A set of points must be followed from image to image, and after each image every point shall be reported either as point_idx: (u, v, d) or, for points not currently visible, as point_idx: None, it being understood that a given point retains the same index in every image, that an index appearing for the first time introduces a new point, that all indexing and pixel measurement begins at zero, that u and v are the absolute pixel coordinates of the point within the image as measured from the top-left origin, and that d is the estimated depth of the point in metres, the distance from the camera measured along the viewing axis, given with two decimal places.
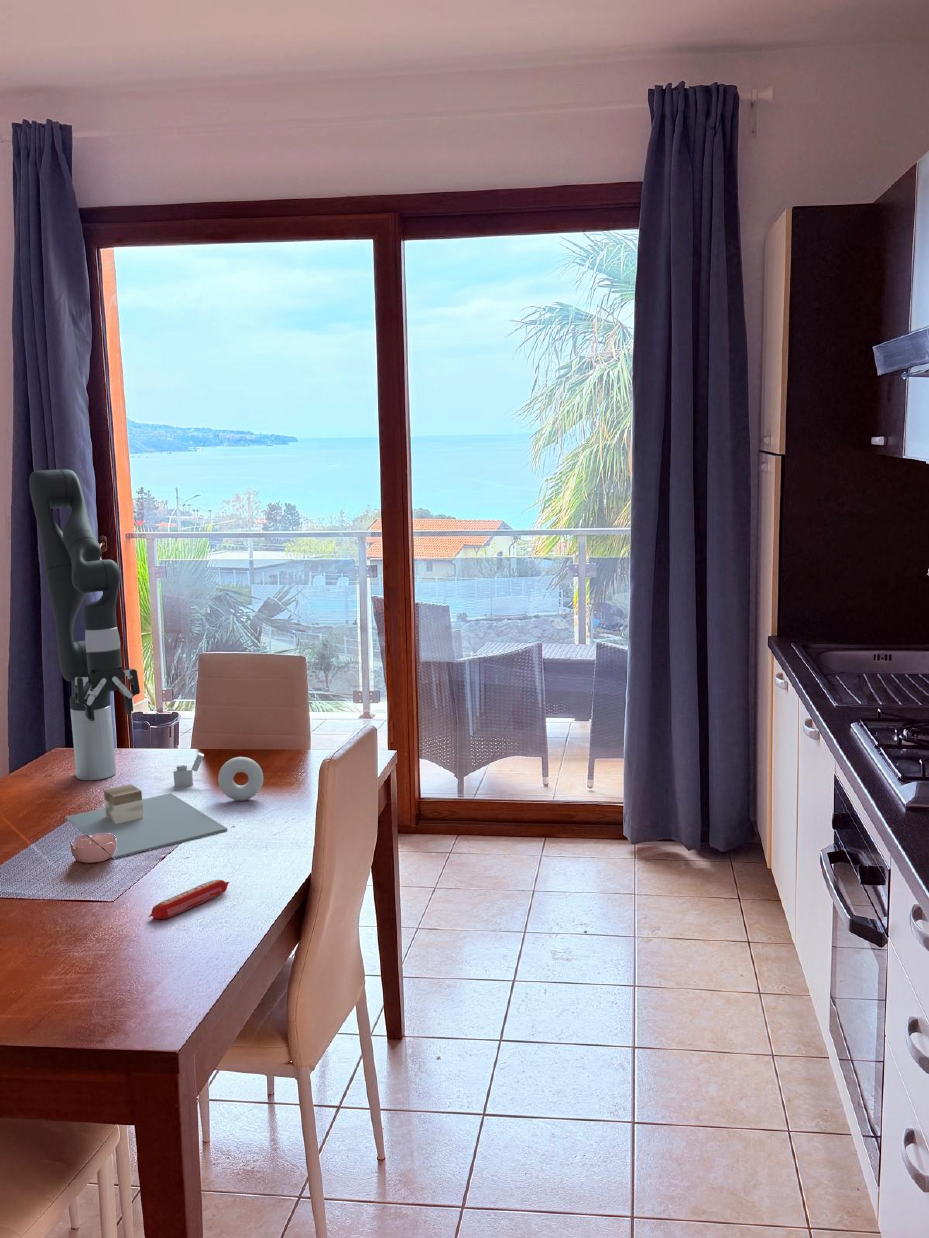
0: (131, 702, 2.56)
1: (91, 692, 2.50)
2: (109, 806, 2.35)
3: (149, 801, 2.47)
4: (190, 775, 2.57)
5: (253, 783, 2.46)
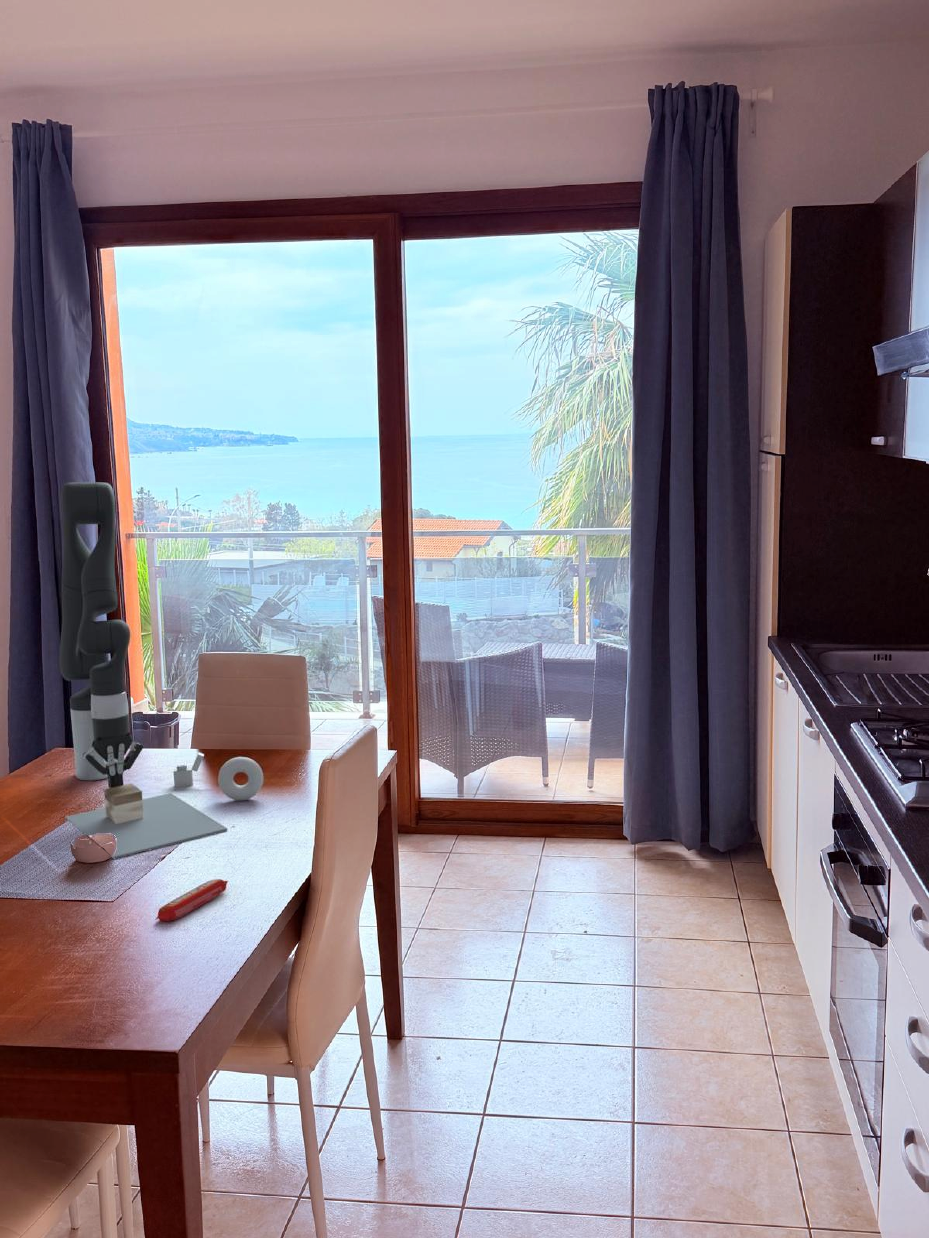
0: (121, 778, 2.39)
1: (107, 763, 2.36)
2: (109, 806, 2.35)
3: (149, 801, 2.47)
4: (190, 775, 2.57)
5: (253, 783, 2.46)
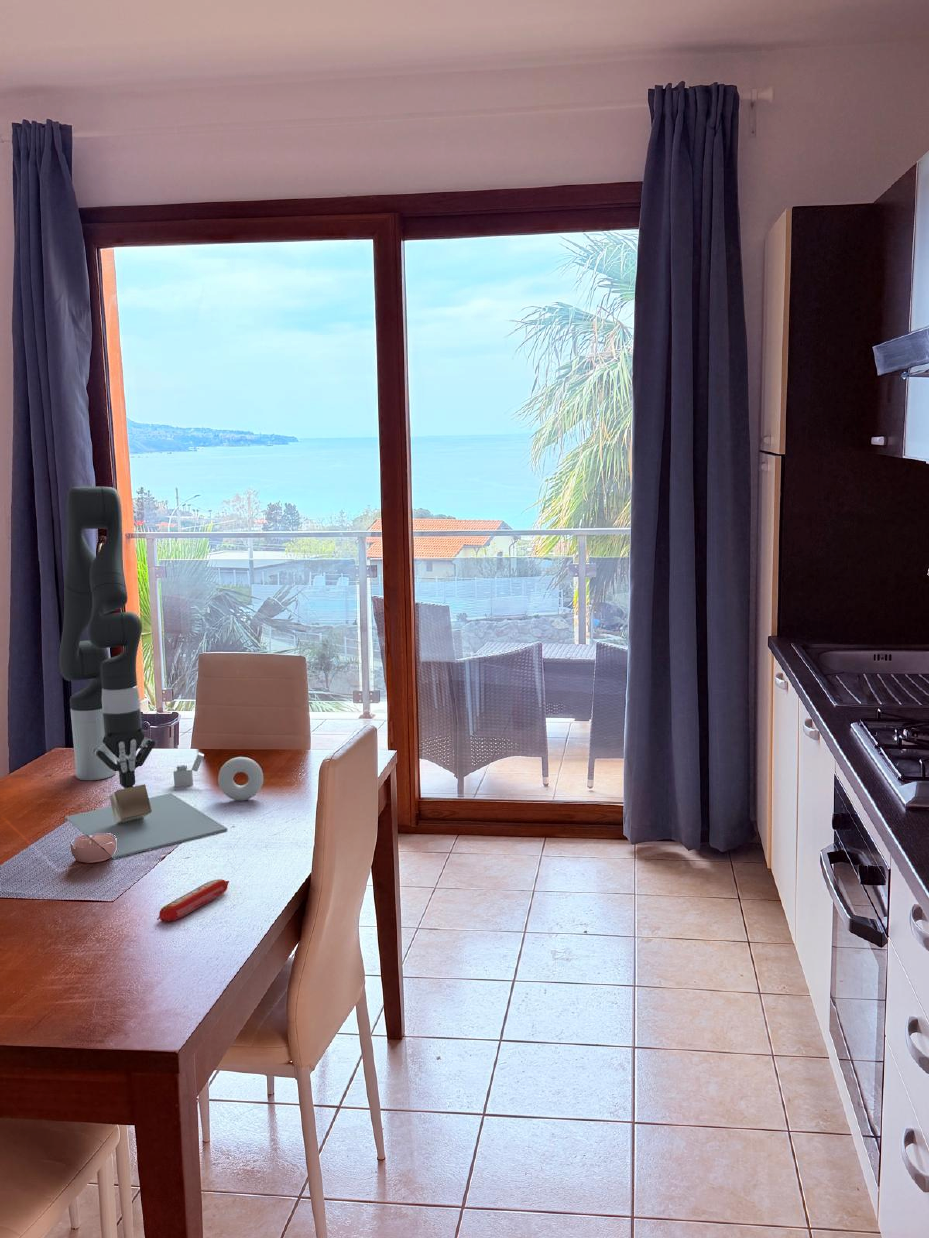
0: (133, 775, 2.32)
1: (119, 759, 2.30)
2: (116, 806, 2.31)
3: (149, 801, 2.47)
4: (190, 775, 2.57)
5: (253, 783, 2.46)
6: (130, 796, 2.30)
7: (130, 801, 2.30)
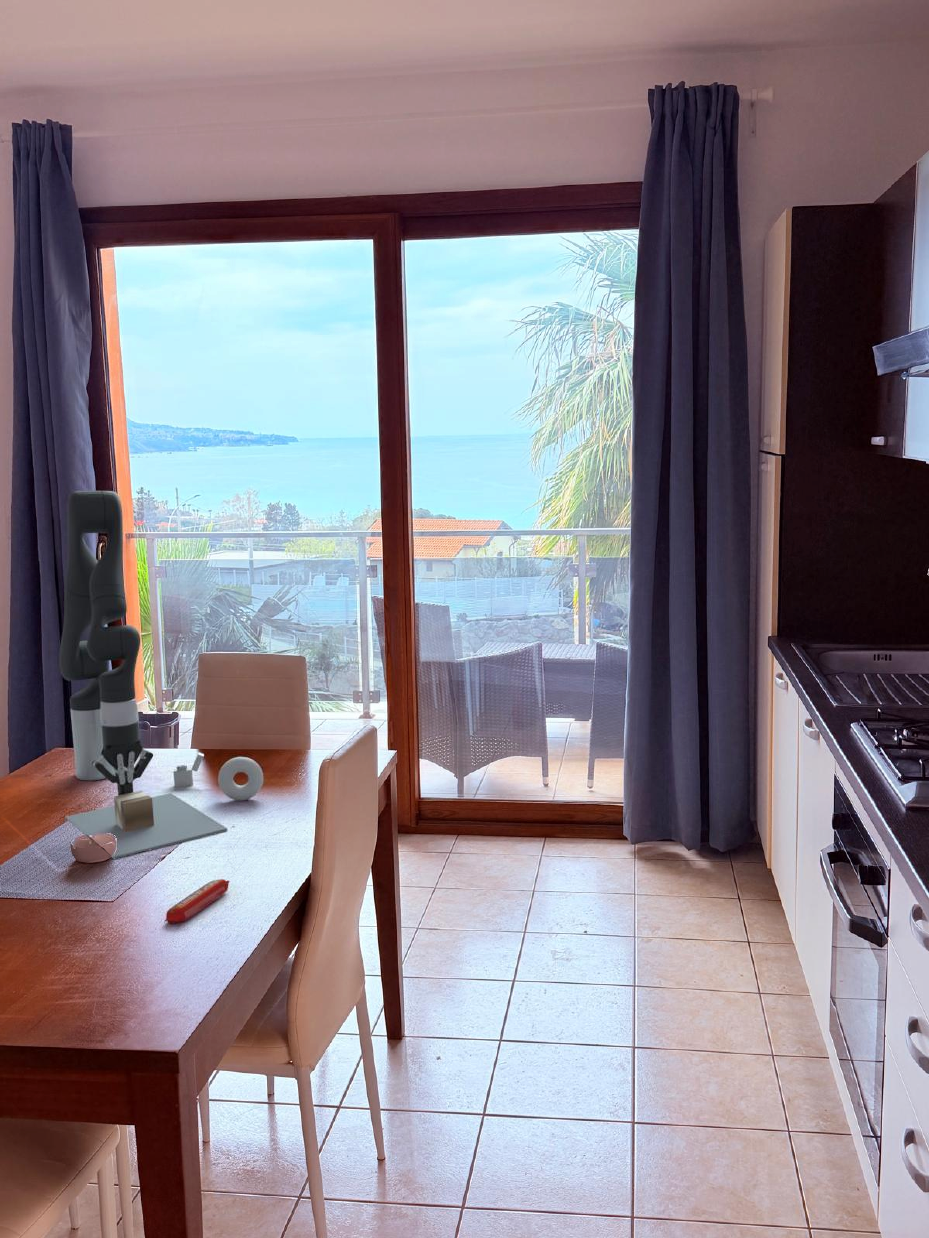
0: (131, 786, 2.34)
1: (117, 771, 2.32)
2: (119, 813, 2.30)
3: None
4: (190, 775, 2.57)
5: (253, 783, 2.46)
6: (135, 810, 2.29)
7: (135, 815, 2.29)
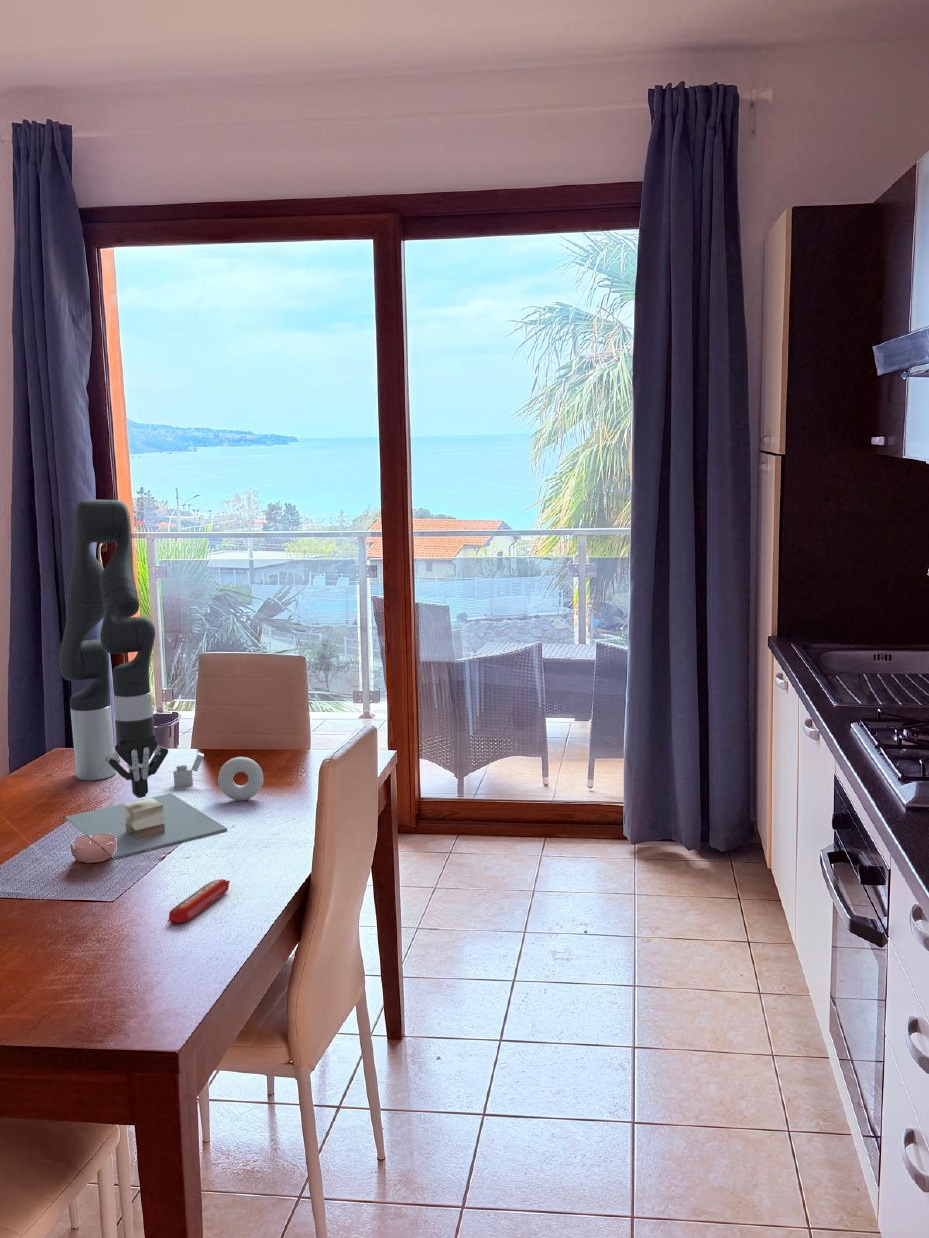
0: (146, 783, 2.27)
1: (131, 768, 2.25)
2: (130, 821, 2.25)
3: None
4: (190, 775, 2.57)
5: (253, 783, 2.46)
6: None
7: None
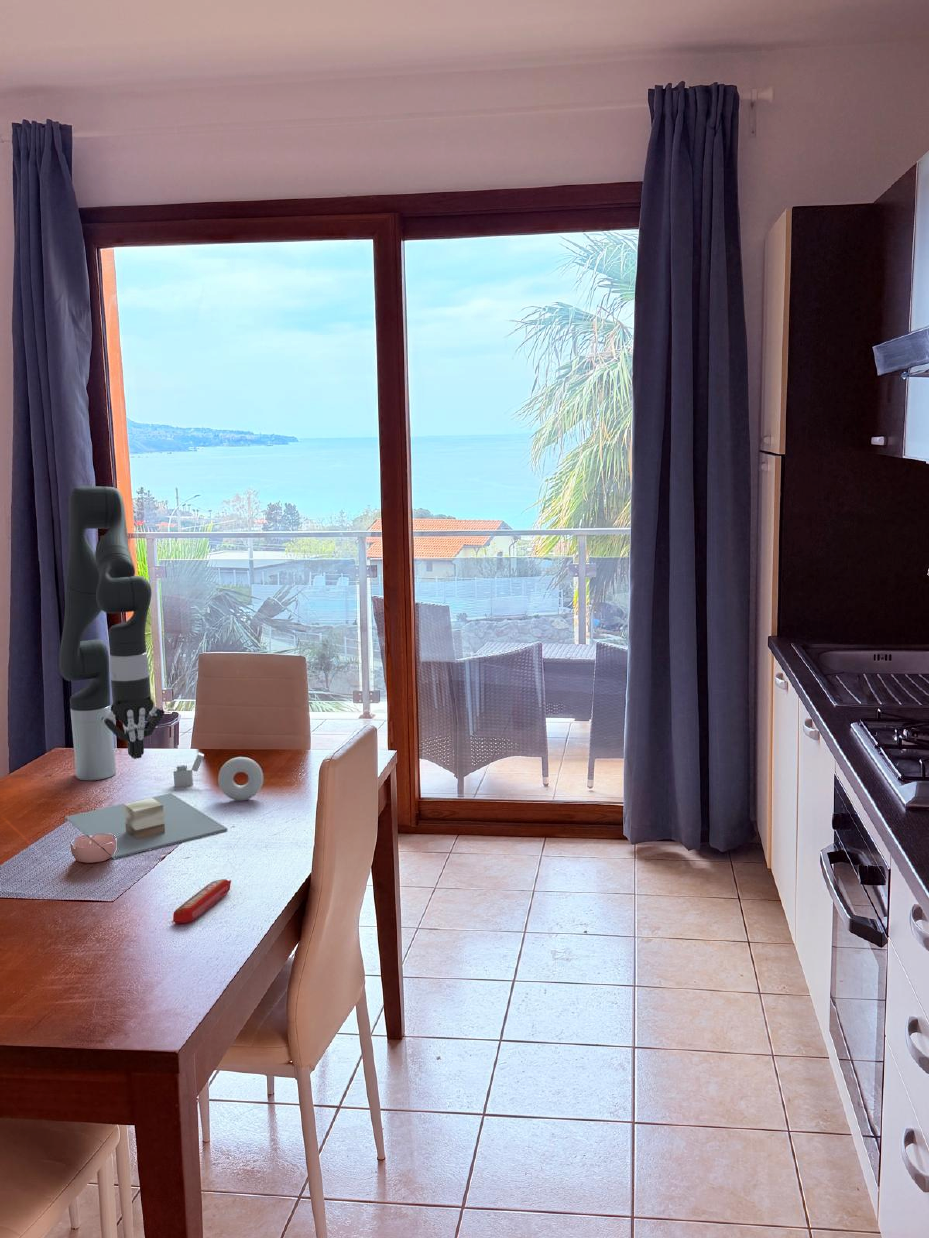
0: (142, 744, 2.26)
1: (127, 728, 2.24)
2: (130, 821, 2.25)
3: None
4: (190, 775, 2.57)
5: (253, 783, 2.46)
6: None
7: None
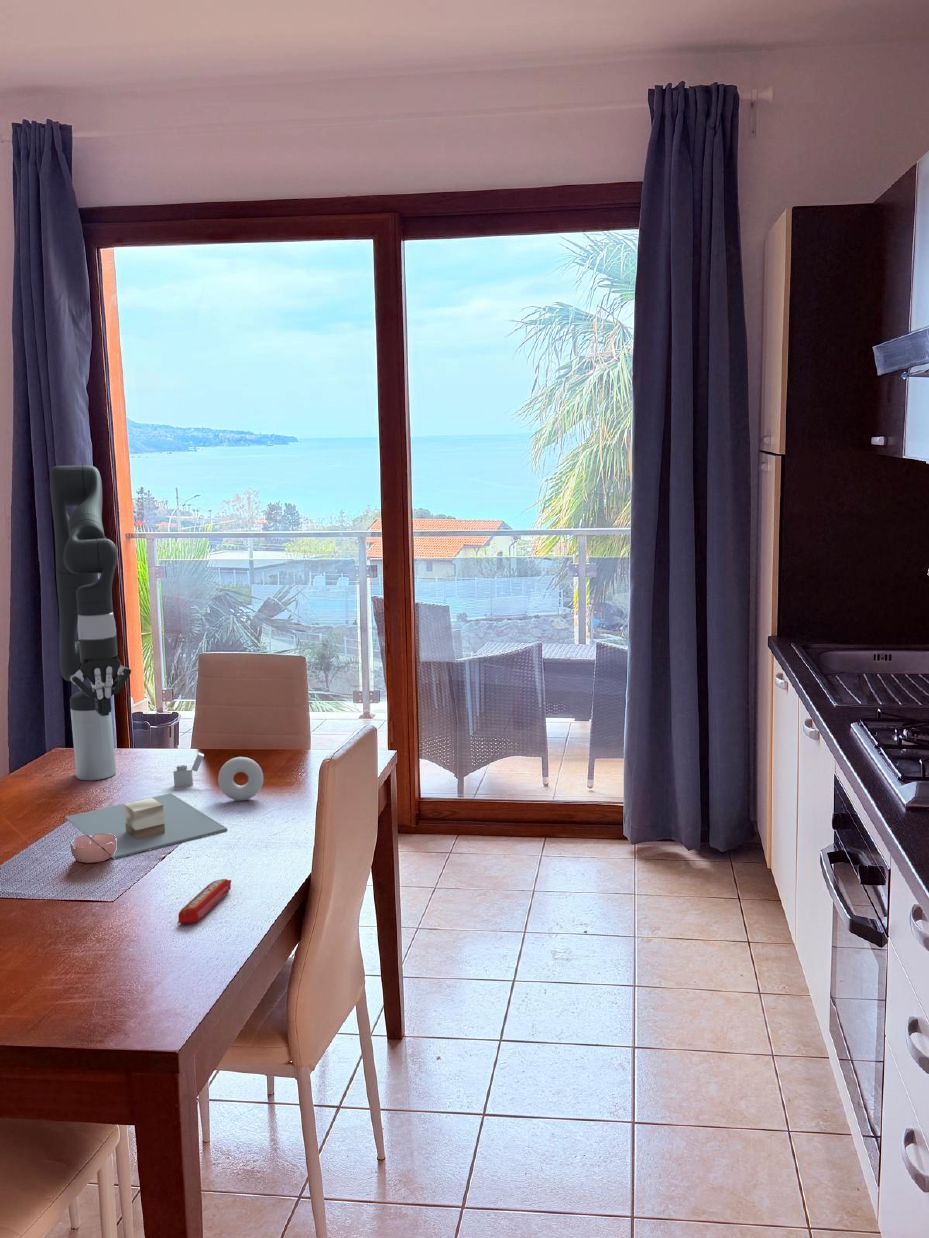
0: (109, 702, 2.33)
1: (94, 686, 2.31)
2: (130, 821, 2.25)
3: None
4: (190, 775, 2.57)
5: (253, 783, 2.46)
6: None
7: None
